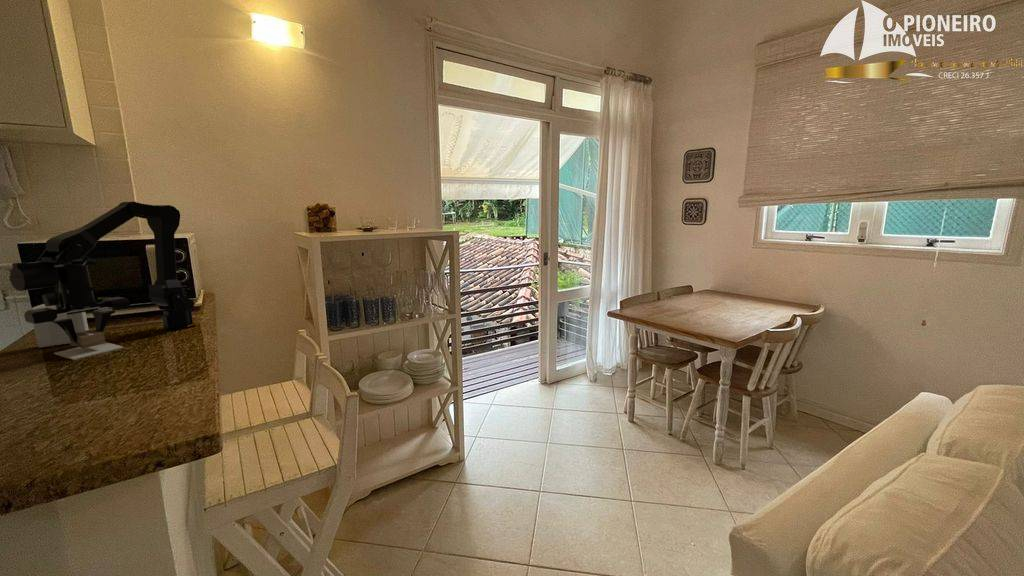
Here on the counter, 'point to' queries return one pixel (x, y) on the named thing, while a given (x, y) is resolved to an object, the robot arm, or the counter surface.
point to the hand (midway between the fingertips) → (87, 339)
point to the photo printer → (57, 329)
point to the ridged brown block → (89, 338)
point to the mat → (88, 351)
